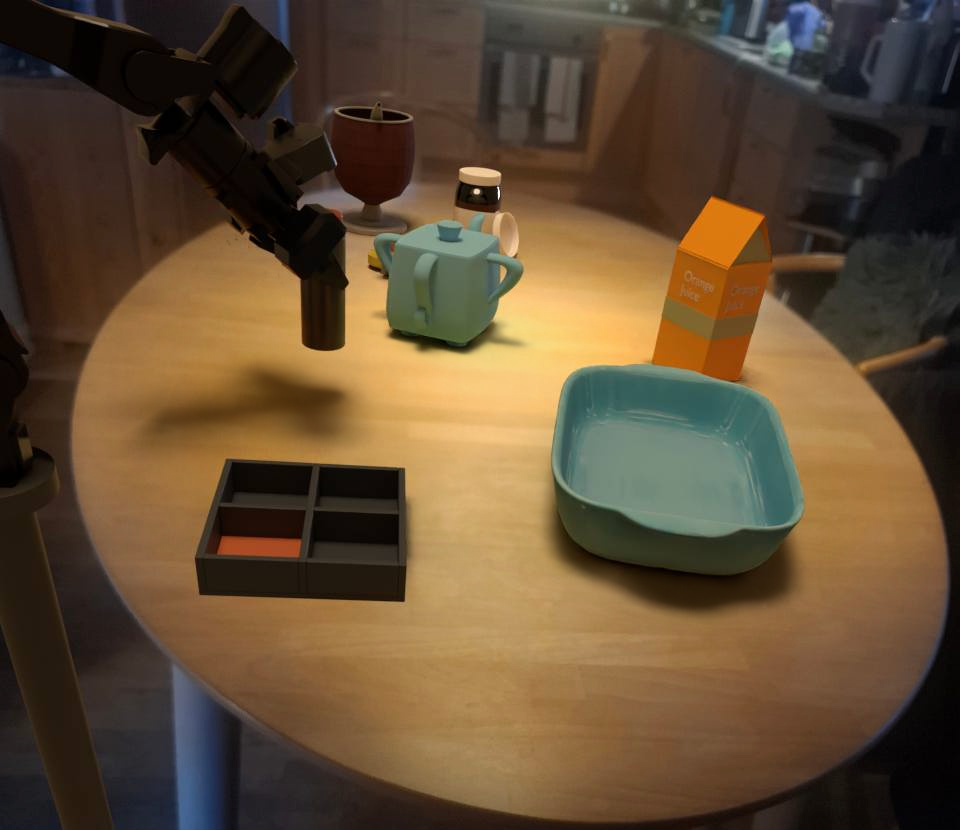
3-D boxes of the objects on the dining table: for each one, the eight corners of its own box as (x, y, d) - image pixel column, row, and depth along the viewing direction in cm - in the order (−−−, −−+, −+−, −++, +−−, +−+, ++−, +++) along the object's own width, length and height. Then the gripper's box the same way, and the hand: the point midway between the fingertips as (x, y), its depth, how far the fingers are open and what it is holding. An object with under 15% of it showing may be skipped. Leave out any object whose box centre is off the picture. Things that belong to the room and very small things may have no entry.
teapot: (522, 351, 115) (536, 242, 107) (400, 356, 110) (405, 241, 101) (475, 304, 128) (484, 203, 120) (364, 306, 123) (365, 200, 114)
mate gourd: (329, 212, 159) (328, 82, 147) (406, 217, 162) (411, 90, 150) (334, 237, 148) (333, 98, 135) (417, 241, 150) (424, 105, 138)
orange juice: (697, 388, 111) (742, 216, 99) (650, 362, 116) (687, 196, 104) (740, 379, 115) (788, 213, 102) (692, 354, 120) (733, 194, 108)
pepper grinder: (299, 349, 93) (295, 216, 85) (303, 333, 97) (300, 204, 89) (343, 352, 94) (344, 221, 86) (346, 337, 97) (347, 209, 89)
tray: (199, 595, 68) (194, 557, 66) (229, 493, 81) (225, 458, 78) (404, 602, 70) (406, 565, 68) (403, 501, 82) (405, 467, 80)
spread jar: (453, 237, 155) (458, 162, 147) (517, 244, 155) (526, 170, 148) (448, 256, 145) (454, 178, 138) (517, 264, 146) (526, 186, 138)
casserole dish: (558, 406, 103) (567, 345, 98) (751, 434, 102) (769, 374, 97) (529, 583, 74) (541, 509, 69) (798, 625, 73) (827, 552, 68)
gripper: (324, 110, 73) (431, 243, 85) (241, 72, 85) (345, 194, 97) (239, 216, 74) (356, 333, 86) (168, 165, 86) (280, 274, 98)
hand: (335, 279), depth 92 cm, fingers closed on pepper grinder, 4 cm apart
